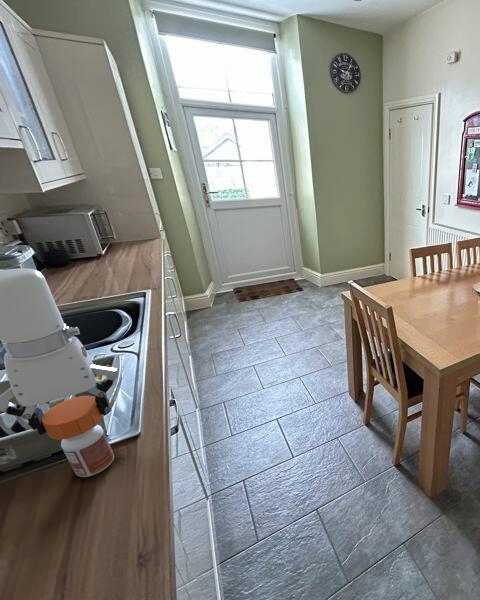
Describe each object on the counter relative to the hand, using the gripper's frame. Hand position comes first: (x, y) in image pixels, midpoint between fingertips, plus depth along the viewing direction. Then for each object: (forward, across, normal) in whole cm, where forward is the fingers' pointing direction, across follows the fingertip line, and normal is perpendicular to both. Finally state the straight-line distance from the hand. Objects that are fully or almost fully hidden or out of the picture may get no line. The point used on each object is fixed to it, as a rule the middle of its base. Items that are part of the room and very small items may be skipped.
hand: (75, 419), depth 63 cm
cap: (+1, 0, 0) cm, 1 cm away
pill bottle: (+13, 0, 0) cm, 13 cm away
